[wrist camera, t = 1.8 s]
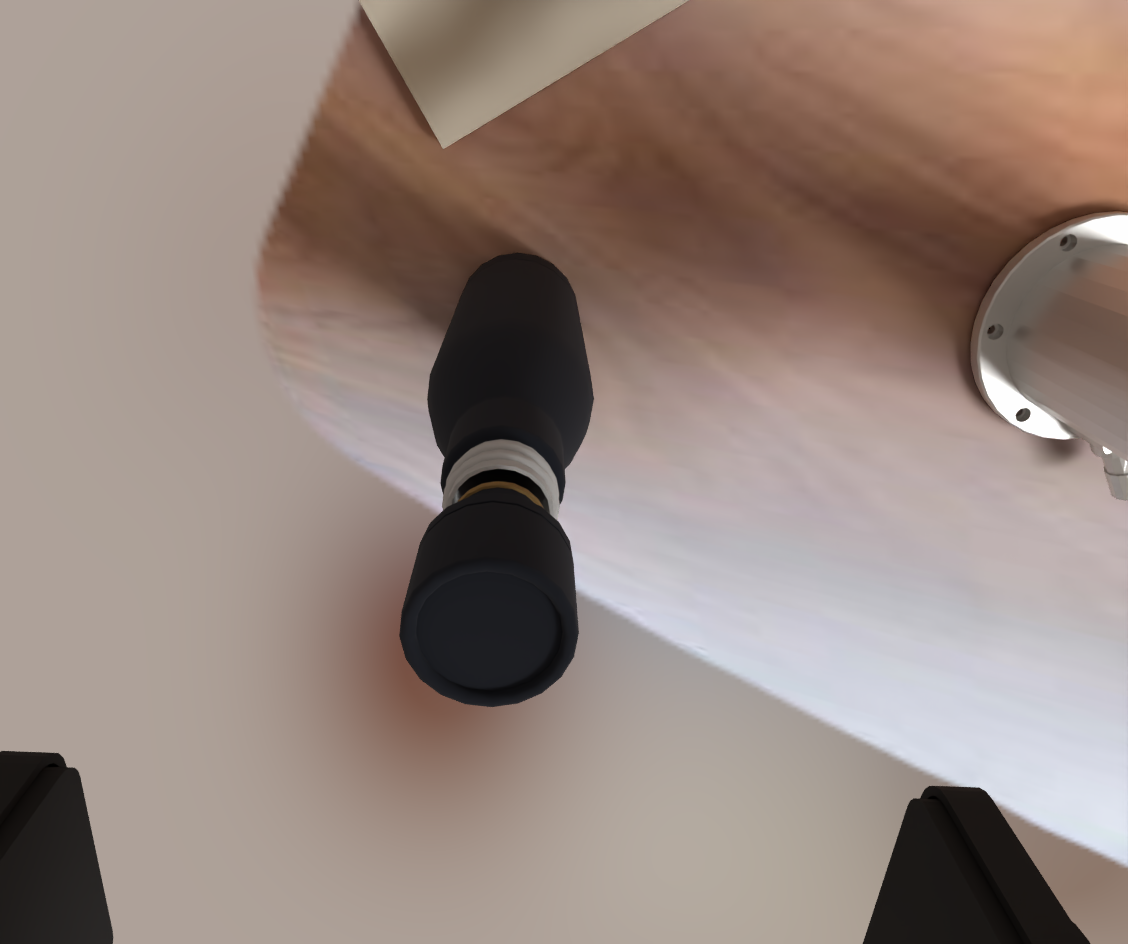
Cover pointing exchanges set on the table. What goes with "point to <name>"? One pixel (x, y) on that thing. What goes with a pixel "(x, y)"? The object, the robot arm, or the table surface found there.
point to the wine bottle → (501, 490)
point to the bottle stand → (497, 49)
